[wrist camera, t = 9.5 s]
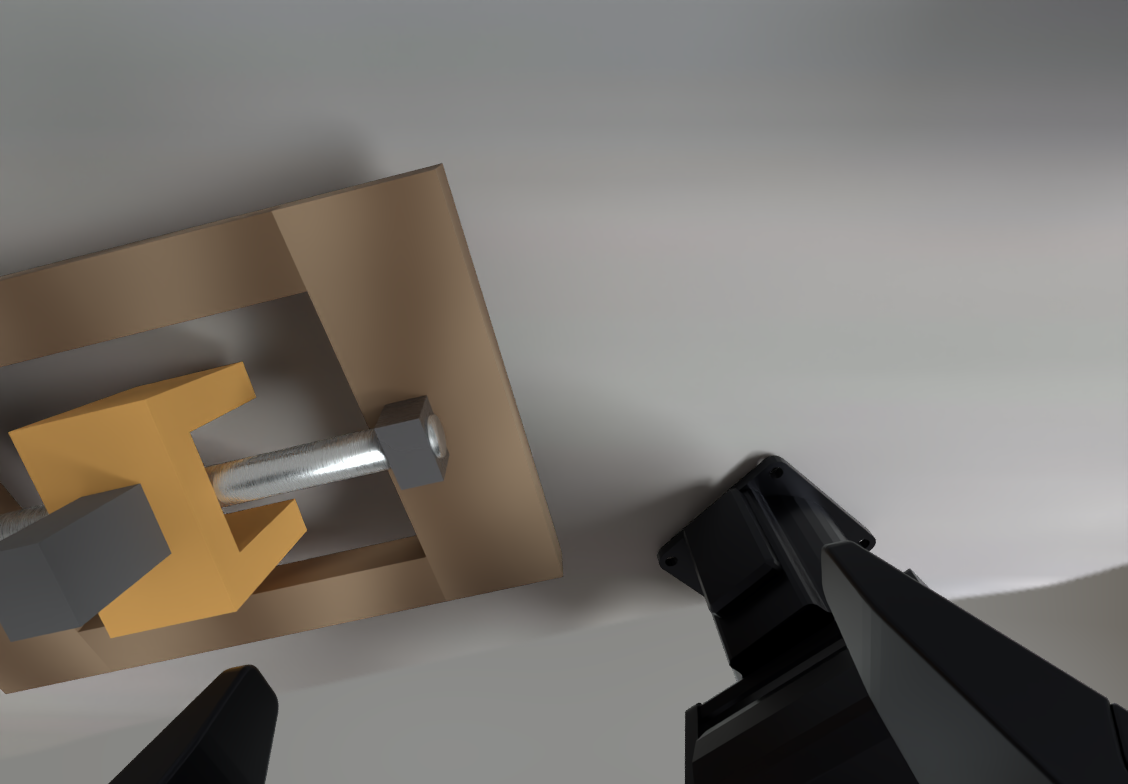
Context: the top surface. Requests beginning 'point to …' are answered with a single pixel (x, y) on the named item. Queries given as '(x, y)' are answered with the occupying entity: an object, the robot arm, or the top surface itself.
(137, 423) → the yellow block
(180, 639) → the wooden frame with rod
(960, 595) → the top surface
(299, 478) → the silver metal rod
